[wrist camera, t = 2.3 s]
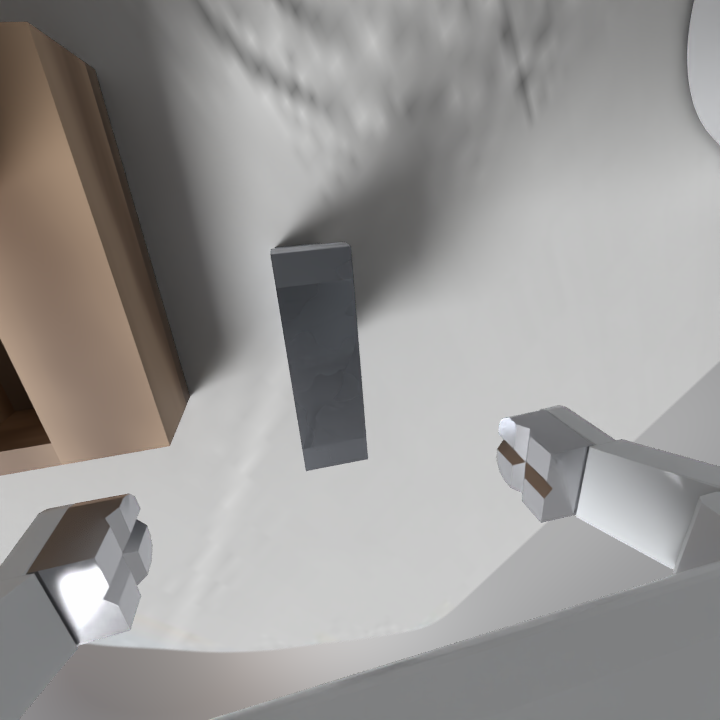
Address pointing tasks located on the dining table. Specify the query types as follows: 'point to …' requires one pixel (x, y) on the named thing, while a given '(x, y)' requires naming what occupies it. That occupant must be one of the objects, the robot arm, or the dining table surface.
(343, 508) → the dining table surface
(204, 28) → the dining table surface
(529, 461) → the robot arm
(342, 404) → the grey rectangular block
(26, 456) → the wooden l-shaped post
